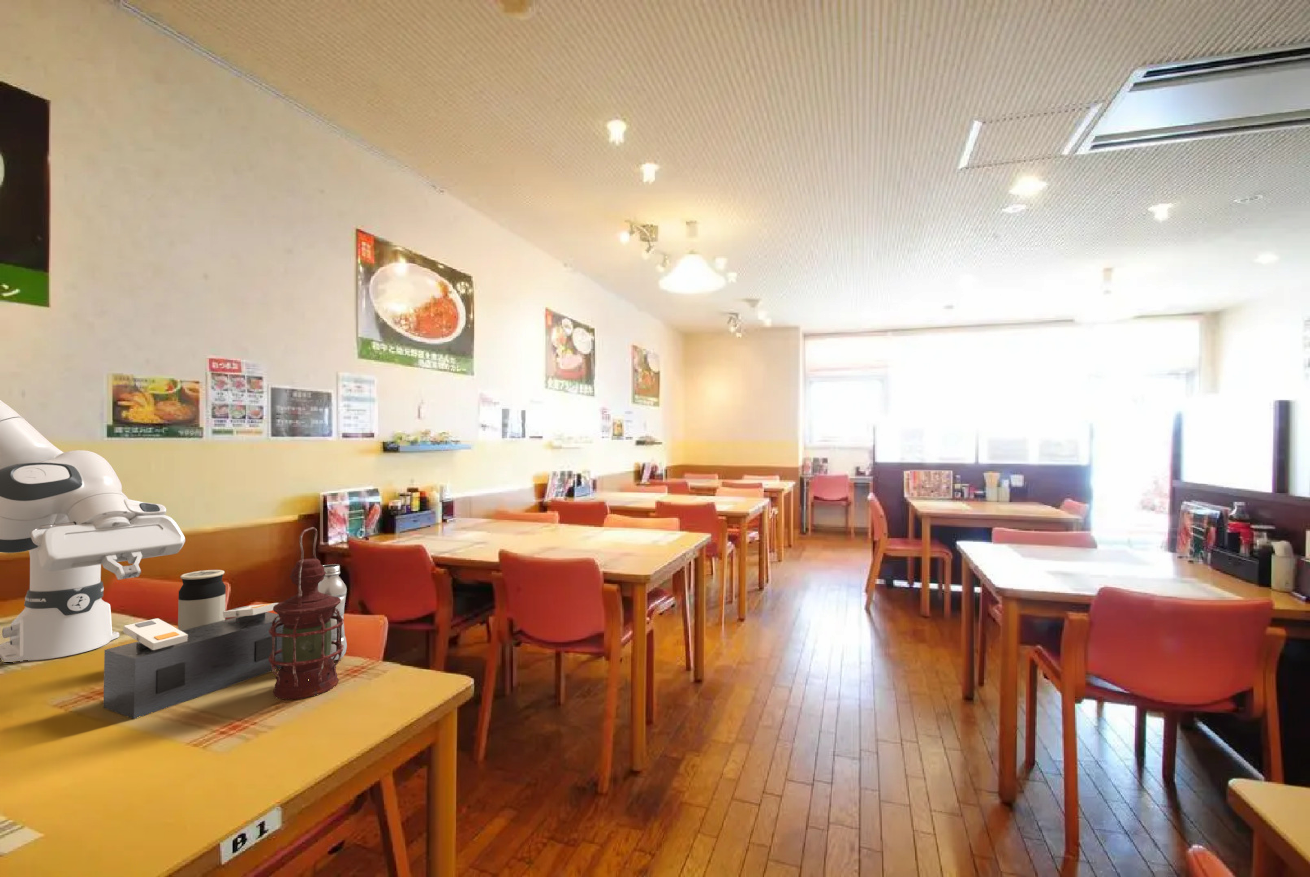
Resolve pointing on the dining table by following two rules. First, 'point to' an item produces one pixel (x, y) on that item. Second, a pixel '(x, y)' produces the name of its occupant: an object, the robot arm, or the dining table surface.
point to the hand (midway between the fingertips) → (130, 576)
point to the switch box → (189, 665)
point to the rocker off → (249, 610)
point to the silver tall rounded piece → (337, 589)
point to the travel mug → (201, 599)
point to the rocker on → (155, 633)
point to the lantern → (306, 634)
